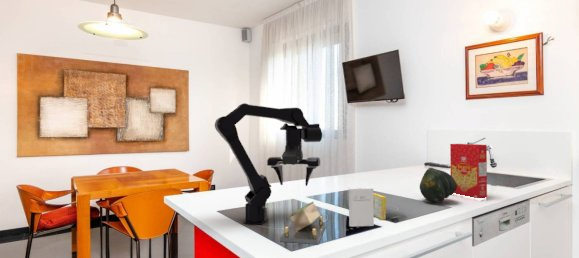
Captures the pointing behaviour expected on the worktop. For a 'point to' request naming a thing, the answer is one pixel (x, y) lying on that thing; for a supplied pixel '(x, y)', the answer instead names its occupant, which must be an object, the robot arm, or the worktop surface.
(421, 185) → the squash
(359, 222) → the external hard drive
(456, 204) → the worktop surface
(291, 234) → the plate
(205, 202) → the worktop surface
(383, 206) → the candy box
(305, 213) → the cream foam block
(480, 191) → the food packaging
